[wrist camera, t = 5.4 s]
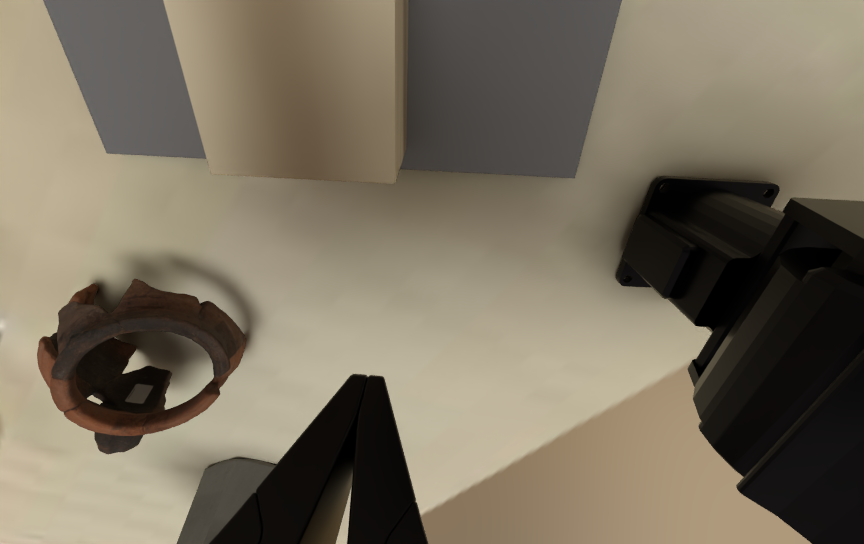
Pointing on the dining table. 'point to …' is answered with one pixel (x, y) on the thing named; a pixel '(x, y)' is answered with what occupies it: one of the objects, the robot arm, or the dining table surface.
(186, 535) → the coffeepot
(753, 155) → the dining table surface
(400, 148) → the plain block
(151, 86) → the charcoal mat
